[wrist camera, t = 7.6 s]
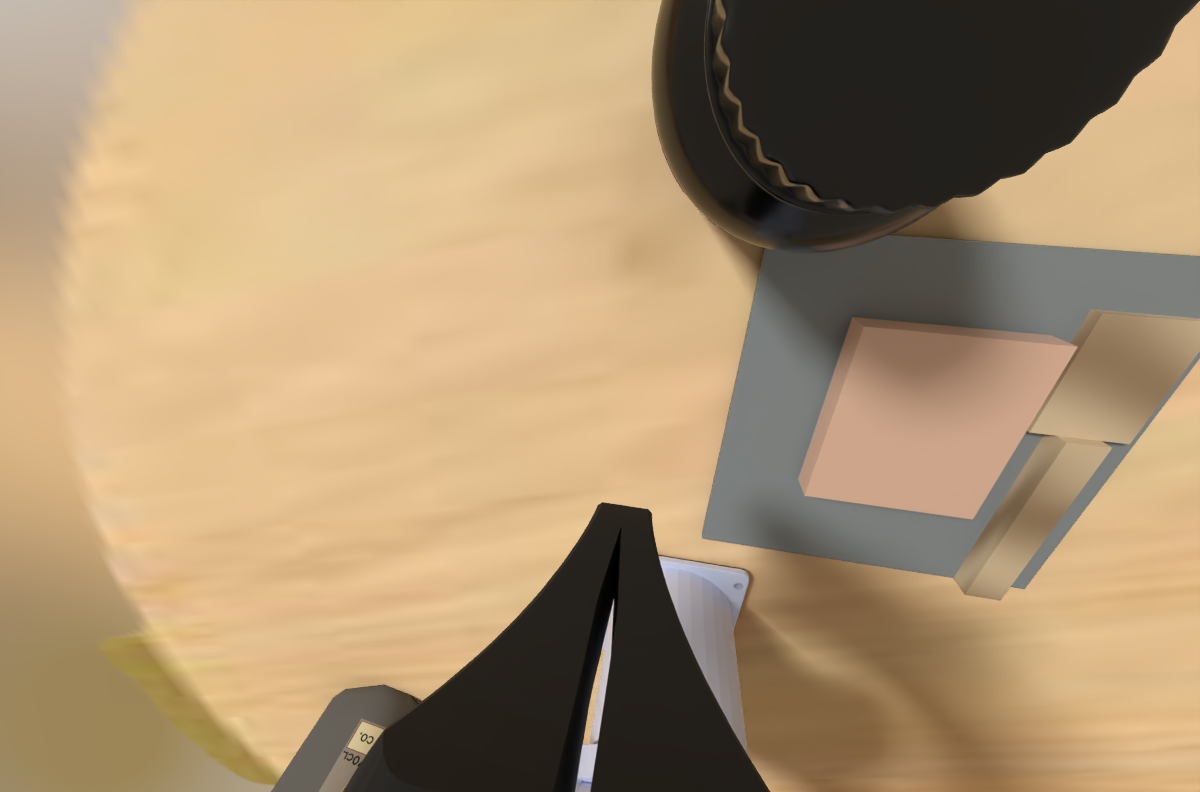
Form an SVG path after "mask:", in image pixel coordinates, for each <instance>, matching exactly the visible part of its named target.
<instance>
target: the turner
mask: <svg viewBox="0 0 1200 792" xmlns="http://www.w3.org/2000/svg"><path fill="white" fill-rule="evenodd" d="M1070 344H1073V345H1075V346H1077V349H1076V351H1075V352H1074V354H1073V356H1072V357H1071V359H1070V360H1069V362H1068V364H1067V365H1066V367H1065V369H1064V370H1063V372H1062V374H1061V375H1060V377H1059V379H1058V380H1057V382H1056V384H1055V385H1054V387H1053V388H1052V390H1051V392H1050V393H1049V395H1048V397H1047V398H1046V400H1045V402H1044V403H1043V405H1042V407H1041V408H1040V410H1039V411H1038V413H1037V415H1036V416H1035V418H1034V420H1033V421H1032V423H1031V425H1030V426H1029V428H1028V430H1027V431H1028V432H1029V433H1037V434H1044V436H1043V437H1042V439H1041V441H1040V442H1039V444H1038V445H1037V447H1036V448H1035V450H1034V452H1033V453H1032V455H1031V456H1030V458H1029V459H1028V461H1027V463H1026V464H1025V466H1024V467H1023V469H1022V471H1021V472H1020V474H1019V475H1018V477H1017V478H1016V480H1015V482H1014V483H1013V485H1012V486H1011V488H1010V489H1009V491H1008V493H1007V494H1006V496H1005V497H1004V499H1003V501H1002V502H1001V504H1000V505H999V507H998V508H997V510H996V512H995V513H994V515H993V516H992V518H991V519H990V521H989V523H988V524H987V526H986V527H985V529H984V531H983V532H982V534H981V535H980V537H979V538H978V540H977V542H976V543H975V545H974V546H973V548H972V549H971V551H970V553H969V554H968V556H967V557H966V559H965V561H964V562H963V564H962V565H961V567H960V568H959V570H958V572H957V573H956V575H955V576H954V580H955V581H956V582H957V584H958V585H959V587H960V588H961V590H962V591H963V593H964V594H965V595H970V596H976V597H982V598H988V599H994V600H1001V599H1002V598H1003V596H1004V595H1005V594H1006V592H1007V591H1008V590H1009V588H1010V587H1011V585H1012V584H1013V583H1014V581H1015V580H1016V579H1017V577H1018V576H1019V575H1020V573H1021V572H1022V570H1023V569H1024V568H1025V566H1026V565H1027V564H1028V562H1029V561H1030V560H1031V558H1032V557H1033V556H1034V554H1035V553H1036V551H1037V550H1038V549H1039V547H1040V546H1041V545H1042V543H1043V542H1044V541H1045V539H1046V538H1047V536H1048V535H1049V534H1050V532H1051V531H1052V530H1053V528H1054V527H1055V526H1056V524H1057V523H1058V521H1059V520H1060V519H1061V517H1062V516H1063V515H1064V513H1065V512H1066V511H1067V509H1068V508H1069V506H1070V505H1071V504H1072V502H1073V501H1074V500H1075V498H1076V497H1077V496H1078V494H1079V493H1080V491H1081V490H1082V489H1083V487H1084V486H1085V485H1086V483H1087V482H1088V481H1089V479H1090V478H1091V476H1092V475H1093V474H1094V472H1095V471H1096V470H1097V468H1098V467H1099V466H1100V464H1101V463H1102V461H1103V460H1104V459H1105V457H1106V456H1107V455H1108V453H1109V452H1110V451H1111V449H1112V447H1110V446H1108V445H1107V444H1105V443H1104V442H1102V441H1106V442H1114V443H1123V444H1130V443H1131V442H1132V441H1133V439H1134V438H1135V437H1136V435H1137V434H1138V433H1139V431H1140V430H1141V429H1142V427H1143V426H1144V425H1145V423H1146V422H1147V421H1148V419H1149V418H1150V417H1151V415H1152V414H1153V413H1154V411H1155V410H1156V409H1157V407H1158V406H1159V405H1160V403H1161V402H1162V401H1163V399H1164V398H1165V397H1166V395H1167V394H1168V393H1169V391H1170V390H1171V389H1172V387H1173V386H1174V385H1175V383H1176V382H1177V381H1178V379H1179V378H1180V377H1181V375H1182V374H1183V373H1184V371H1185V370H1186V369H1187V367H1188V366H1189V365H1190V363H1191V362H1192V361H1193V360H1194V358H1195V357H1196V356H1197V354H1198V353H1199V352H1200V319H1199V318H1187V317H1175V316H1164V315H1152V314H1140V313H1128V312H1116V311H1105V310H1093V309H1091V310H1090V311H1089V313H1088V315H1087V316H1086V318H1085V320H1084V322H1083V323H1082V325H1081V327H1080V328H1079V330H1078V332H1077V333H1076V335H1075V337H1074V338H1073V340H1072V342H1071V343H1070Z"/></svg>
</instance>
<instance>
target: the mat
mask: <svg viewBox="0 0 1200 792" xmlns="http://www.w3.org/2000/svg"><path fill="white" fill-rule="evenodd" d="M1091 309H1093V310H1105V311H1116V312H1128V313H1140V314H1152V315H1164V316H1175V317H1187V318H1199V319H1200V256H1189V255H1174V254H1160V253H1146V252H1131V251H1117V250H1103V249H1088V248H1074V247H1059V246H1045V245H1031V244H1016V243H1002V242H988V241H973V240H959V239H945V238H930V237H916V236H902V235H887V236H885V237H882V238H880V239H877V240H874V241H871V242H868V243H865V244H862V245H859V246H855V247H851V248H847V249H843V250H837V251H830V252H823V253H789V252H782V251H775V250H771V249H767V248H764V253H763V257H762V262H761V267H760V271H759V276H758V280H757V285H756V289H755V294H754V298H753V303H752V308H751V312H750V317H749V321H748V326H747V330H746V335H745V339H744V344H743V349H742V353H741V358H740V362H739V367H738V371H737V376H736V380H735V385H734V390H733V394H732V399H731V403H730V408H729V412H728V417H727V422H726V426H725V431H724V435H723V440H722V444H721V449H720V453H719V458H718V463H717V467H716V472H715V476H714V481H713V485H712V490H711V494H710V499H709V504H708V508H707V513H706V517H705V522H704V526H703V531H702V539H708V540H715V541H721V542H727V543H734V544H740V545H747V546H753V547H759V548H766V549H772V550H778V551H785V552H791V553H798V554H804V555H810V556H817V557H823V558H829V559H836V560H842V561H848V562H855V563H861V564H868V565H874V566H880V567H887V568H893V569H899V570H906V571H912V572H918V573H925V574H931V575H938V576H944V577H950V578H954V576H955V575H956V573H957V572H958V570H959V568H960V567H961V565H962V564H963V562H964V561H965V559H966V557H967V556H968V554H969V553H970V551H971V549H972V548H973V546H974V545H975V543H976V542H977V540H978V538H979V537H980V535H981V534H982V532H983V531H984V529H985V527H986V526H987V524H988V523H989V521H990V519H991V518H992V516H993V515H994V513H995V512H996V510H997V508H998V507H999V505H1000V504H1001V502H1002V501H1003V499H1004V497H1005V496H1006V494H1007V493H1008V491H1009V489H1010V488H1011V486H1012V485H1013V483H1014V482H1015V480H1016V478H1017V477H1018V475H1019V474H1020V472H1021V471H1022V469H1023V467H1024V466H1025V464H1026V463H1027V461H1028V459H1029V458H1030V456H1031V455H1032V453H1033V452H1034V450H1035V448H1036V447H1037V445H1038V444H1039V442H1040V441H1041V439H1042V437H1043V436H1044V434H1037V433H1029V432H1028V431H1026V433H1025V435H1024V436H1023V438H1022V439H1021V441H1020V443H1019V444H1018V446H1017V448H1016V449H1015V451H1014V453H1013V454H1012V456H1011V458H1010V459H1009V461H1008V463H1007V464H1006V466H1005V467H1004V469H1003V471H1002V472H1001V474H1000V476H999V477H998V479H997V481H996V482H995V484H994V486H993V487H992V489H991V490H990V492H989V494H988V495H987V497H986V499H985V500H984V502H983V504H982V505H981V507H980V509H979V510H978V512H977V514H976V515H975V517H974V518H973V520H972V519H965V518H958V517H951V516H944V515H937V514H930V513H923V512H916V511H909V510H901V509H894V508H887V507H880V506H873V505H866V504H859V503H852V502H845V501H838V500H831V499H824V498H817V497H809V496H804V493H803V491H802V488H801V486H800V483H799V480H798V478H799V475H800V472H801V469H802V466H803V463H804V460H805V457H806V454H807V451H808V448H809V445H810V442H811V439H812V436H813V433H814V430H815V427H816V424H817V421H818V418H819V415H820V412H821V409H822V406H823V403H824V400H825V397H826V394H827V391H828V388H829V385H830V382H831V379H832V376H833V373H834V370H835V367H836V364H837V361H838V358H839V355H840V352H841V349H842V346H843V343H844V340H845V337H846V334H847V331H848V328H849V326H850V323H851V320H852V317H858V318H869V319H880V320H891V321H902V322H912V323H923V324H934V325H945V326H956V327H967V328H978V329H988V330H999V331H1010V332H1021V333H1032V334H1043V335H1052V336H1054V337H1057V338H1059V339H1061V340H1064V341H1066V342H1068V343H1071V342H1072V340H1073V338H1074V337H1075V335H1076V333H1077V332H1078V330H1079V328H1080V327H1081V325H1082V323H1083V322H1084V320H1085V318H1086V316H1087V315H1088V313H1089V311H1090V310H1091ZM1199 359H1200V352H1199V353H1198V354H1197V356H1196V357H1195V358H1194V360H1193V361H1192V362H1191V363H1190V365H1189V366H1188V367H1187V369H1186V370H1185V371H1184V373H1183V374H1182V375H1181V377H1180V378H1179V379H1178V381H1177V382H1176V383H1175V385H1174V386H1173V387H1172V389H1171V390H1170V391H1169V393H1168V394H1167V395H1166V397H1165V398H1164V399H1163V401H1162V402H1161V403H1160V405H1159V406H1158V407H1157V409H1156V410H1155V411H1154V413H1153V414H1152V415H1151V417H1150V418H1149V419H1148V421H1147V422H1146V423H1145V425H1144V426H1143V427H1142V429H1141V430H1140V431H1139V433H1138V434H1137V435H1136V437H1135V438H1134V439H1133V441H1132V442H1131V443H1130V444H1123V443H1114V442H1106V441H1102V442H1104V443H1105V444H1107V445H1108V446H1110V447H1112V449H1111V451H1110V452H1109V453H1108V455H1107V456H1106V457H1105V459H1104V460H1103V461H1102V463H1101V464H1100V466H1099V467H1098V468H1097V470H1096V471H1095V472H1094V474H1093V475H1092V476H1091V478H1090V479H1089V481H1088V482H1087V483H1086V485H1085V486H1084V487H1083V489H1082V490H1081V491H1080V493H1079V494H1078V496H1077V497H1076V498H1075V500H1074V501H1073V502H1072V504H1071V505H1070V506H1069V508H1068V509H1067V511H1066V512H1065V513H1064V515H1063V516H1062V517H1061V519H1060V520H1059V521H1058V523H1057V524H1056V526H1055V527H1054V528H1053V530H1052V531H1051V532H1050V534H1049V535H1048V536H1047V538H1046V539H1045V541H1044V542H1043V543H1042V545H1041V546H1040V547H1039V549H1038V550H1037V551H1036V553H1035V554H1034V556H1033V557H1032V558H1031V560H1030V561H1029V562H1028V564H1027V565H1026V566H1025V568H1024V569H1023V570H1022V572H1021V573H1020V575H1019V576H1018V577H1017V579H1016V580H1015V581H1014V583H1013V584H1012V585H1011V587H1014V588H1020V589H1025V588H1026V587H1027V585H1028V584H1029V583H1030V581H1031V580H1032V579H1033V577H1034V576H1035V575H1036V573H1037V572H1038V571H1039V569H1040V568H1041V567H1042V565H1043V564H1044V563H1045V561H1046V560H1047V559H1048V558H1049V556H1050V555H1051V554H1052V552H1053V551H1054V550H1055V548H1056V547H1057V546H1058V544H1059V543H1060V542H1061V540H1062V539H1063V538H1064V536H1065V535H1066V534H1067V533H1068V531H1069V530H1070V529H1071V527H1072V526H1073V525H1074V523H1075V522H1076V521H1077V519H1078V518H1079V517H1080V515H1081V514H1082V513H1083V511H1084V510H1085V509H1086V507H1087V506H1088V505H1089V504H1090V502H1091V501H1092V500H1093V498H1094V497H1095V496H1096V494H1097V493H1098V492H1099V490H1100V489H1101V488H1102V486H1103V485H1104V484H1105V482H1106V481H1107V480H1108V478H1109V477H1110V476H1111V475H1112V473H1113V472H1114V471H1115V469H1116V468H1117V467H1118V465H1119V464H1120V463H1121V461H1122V460H1123V459H1124V457H1125V456H1126V455H1127V453H1128V452H1129V451H1130V450H1131V448H1132V447H1133V446H1134V444H1135V443H1136V442H1137V440H1138V439H1139V438H1140V436H1141V435H1142V434H1143V432H1144V431H1145V430H1146V428H1147V427H1148V426H1149V424H1150V423H1151V422H1152V421H1153V419H1154V418H1155V417H1156V415H1157V414H1158V413H1159V411H1160V410H1161V409H1162V407H1163V406H1164V405H1165V403H1166V402H1167V401H1168V399H1169V398H1170V397H1171V396H1172V394H1173V393H1174V392H1175V390H1176V389H1177V388H1178V386H1179V385H1180V384H1181V382H1182V381H1183V380H1184V378H1185V377H1186V376H1187V374H1188V373H1189V372H1190V370H1191V369H1192V368H1193V367H1194V365H1195V364H1196V363H1197V361H1198V360H1199Z"/></svg>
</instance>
